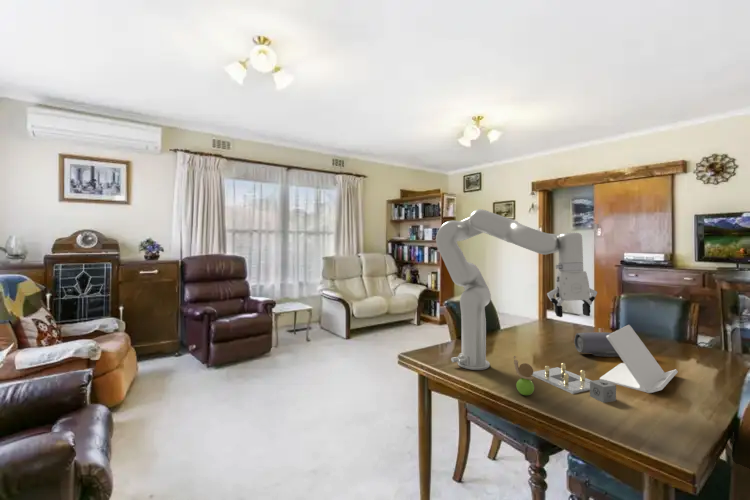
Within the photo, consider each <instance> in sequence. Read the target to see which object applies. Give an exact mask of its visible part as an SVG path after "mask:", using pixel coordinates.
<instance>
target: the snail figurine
mask: <svg viewBox="0 0 750 500" xmlns="http://www.w3.org/2000/svg"><path fill="white" fill-rule="evenodd" d="M516 358H517V356H516V355H514V356H513V364H514V369H515V372H516V374H517V376H519V377H520V378H519V379H517V381H516V384H515V386H516V389H517V392H518V393H519V394H521V395H522V396H530V395H532V394H533V393H534V392H535V385H534V382H533V381H532V380H533V379H534V376H532V374H533V372H534V368H533V367H532V366H531V365H530V364H529V363H525V362H524V363H521V364H520V365H519V361H518V360H517V359H516Z"/></svg>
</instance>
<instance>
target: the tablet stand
mask: <svg viewBox="0 0 750 500" xmlns="http://www.w3.org/2000/svg"><path fill="white" fill-rule="evenodd" d="M610 333H611V334H609V335H607V336H606V337H607V339H608V340H609V342H610V343H611V345H612V346H613V348H614V349H615V350H616V352H617V353H618V355H619V356H618V357H619V358H620V359H621V361H622V362H620V363H618V364H617V365H616V366H615V367H613V368H612V369H610V370H609V371H607V372H606V373H605V374H603V375H601V376H600V377H599V380H605V381H607V382H609V383H612V384H614V385H616V386H617V385H618V386H620V387H624V388H628V389H632V390H636V391H640V392H644V393H647V394H652V393H656V392H659V391H662V390H663V389H664V388H665V387H666V386H667V385H668V384H669V382H670V381H672V379H673V378H674V377H675V376H676V375H677V374H678V372H679V371H678V370H677V369H672V370H669V371H666V372H665V371H664V370H663V368H662V367H661V365H660V364H659V362H657V360H656V359H655V357H654V356H653V354H652V353H651V352H650V351H649V349H648V348H647V346H646V345H645V343H644V342H643V341H642V340H641V338H640V337H639V335H638V334H637V333H636V332H635V330H634V328H633V327H632V326H631V324H627V325H625V326H623V327H621V328H619V329H617V330H615V331H613V332H610Z"/></svg>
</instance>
